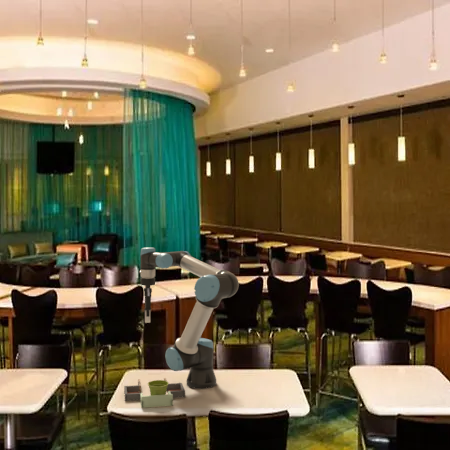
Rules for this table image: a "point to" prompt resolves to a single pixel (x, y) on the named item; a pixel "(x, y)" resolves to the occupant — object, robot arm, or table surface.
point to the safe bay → (156, 400)
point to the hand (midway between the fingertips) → (147, 322)
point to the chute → (140, 384)
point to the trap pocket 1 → (132, 393)
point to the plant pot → (158, 387)
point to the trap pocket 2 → (176, 390)
